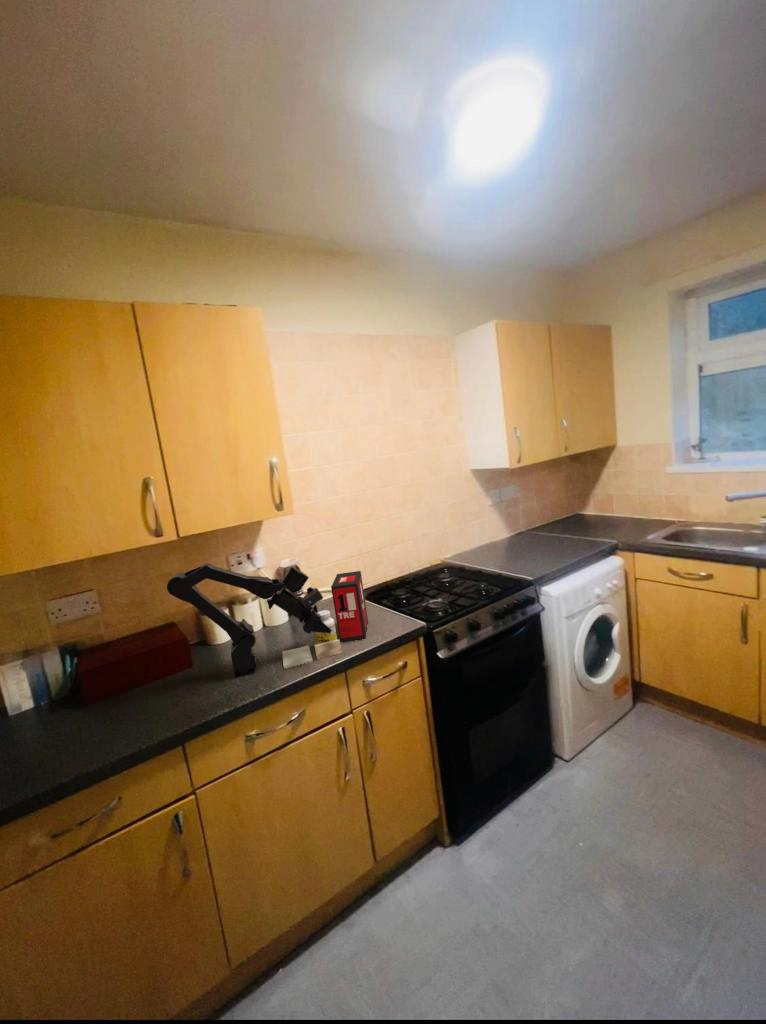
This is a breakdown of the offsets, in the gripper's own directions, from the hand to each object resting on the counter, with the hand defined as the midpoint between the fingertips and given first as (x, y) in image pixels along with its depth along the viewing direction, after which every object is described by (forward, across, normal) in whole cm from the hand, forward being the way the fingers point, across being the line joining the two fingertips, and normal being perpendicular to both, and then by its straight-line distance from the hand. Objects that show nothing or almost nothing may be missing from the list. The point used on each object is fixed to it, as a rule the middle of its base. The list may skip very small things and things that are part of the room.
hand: (329, 628), depth 147 cm
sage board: (-3, 0, +14) cm, 14 cm away
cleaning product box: (+12, +10, -2) cm, 16 cm away
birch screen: (+4, -5, +6) cm, 9 cm away
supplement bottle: (+4, 0, +6) cm, 7 cm away
